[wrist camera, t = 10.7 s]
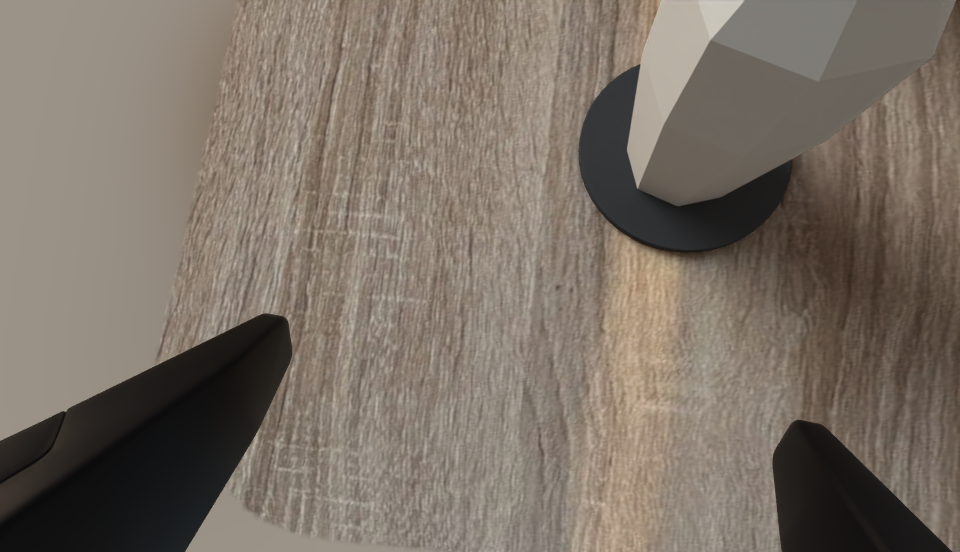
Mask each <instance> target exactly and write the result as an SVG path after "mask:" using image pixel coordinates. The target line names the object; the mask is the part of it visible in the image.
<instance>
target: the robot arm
mask: <svg viewBox="0 0 960 552" xmlns="http://www.w3.org/2000/svg"><path fill="white" fill-rule="evenodd" d="M291 357H292V345H291V338H290V331H289V324H288V321H287V319H286V318H285V317H283V316H278V315H273V314H268V313H265V314H261V315H259V316H257V317H255V318H253V319H251V320H249V321H247V322H245V323H243V324H241V325H239V326H236V327H234V328H232V329H230V330H228V331H226V332H224V333H222V334H220V335H218V336H216V337H214V338H212V339H210V340H208V341H206V342H204V343H202V344H200V345H198V346H195V347H193V348H191V349H189V350H187V351H185V352H183V353H181V354H179V355H177V356H175V357H173V358H171V359H169V360H167V361H165V362H163V363H161V364H159V365H157V366H155V367H152V368H151V369H148V370H146V371H144V372H142V373H140V374H138V375H136V376H134V377H132V378H130V379H128V380H126V381H124V382H122V383H120V384H118V385H116V386H114V387H112V388H110V389H107V390H105V391H103V392H101V393H99V394H97V395H95V396H93V397H91V398H89V399H87V400H85V401H83V402H81V403H79V404H77V405H75V406H72V407H70V408H69V409H68V410H67V412H64V411H63V412H60V413H58V414H56V415H54V416H52V417H50V418H48V419H46V420H44V421H42V422H39V423H38V424H35V425H33V426H31V427H29V428H27V429H25V430H22V431H20V432H18V433H16V434H14V435H12V436H10V437H8V438H5V439H3V440H1V441H0V552H185V551H186V549H187V547H188V546H189V544H190V543H191V541H192V539H193V538H194V536H195V534H196V533H197V531H198V529H199V528H200V526H201V524H202V523H203V521H204V519H205V518H206V516H207V515H208V513H209V511H210V509H211V508H212V506H213V505H214V503H215V501H216V500H217V498H218V496H219V495H220V493H221V492H222V490H223V488H224V487H225V485H226V483H227V482H228V480H229V478H230V477H231V475H232V473H233V472H234V470H235V468H236V467H237V465H238V464H239V462H240V460H241V459H242V457H243V455H244V454H245V452H246V450H247V449H248V447H249V445H250V444H251V442H252V440H253V439H254V437H255V435H256V433H257V431H258V429H259V427H260V425H261V423H262V421H263V419H264V417H265V415H266V413H267V411H268V409H269V406H270V404H271V402H272V400H273V398H274V396H275V393H276V391H277V389H278V387H279V385H280V383H281V381H282V378H283V376H284V374H285V372H286V370H287V368H288V366H289V363H290V361H291ZM772 463H773V474H774V484H775V493H776V503H777V513H778V523H779V533H780V541H781V549H782V552H952V551H951V550H950V549H949V548H948V547H947V546H946V545H945V544H944V543H943V542H942V541H941V540H940V539H939V538H938V537H937V536H936V535H935V534H934V533H933V532H932V531H931V530H930V529H928V528H927V527H926V526H925V525H924V524H923V523H922V522H921V521H920V520H919V519H918V518H917V517H916V516H915V515H914V514H913V513H912V512H911V511H910V510H909V509H908V508H907V507H906V506H905V505H904V504H903V503H902V502H901V501H900V500H899V499H898V498H897V497H896V496H895V495H894V494H893V493H892V492H891V491H890V490H889V489H888V488H887V487H886V486H885V485H884V484H883V483H882V482H881V481H880V480H879V479H878V478H877V477H876V476H875V475H874V474H873V473H872V472H871V471H869V470H868V469H867V468H866V467H865V466H864V465H863V464H862V463H861V462H860V461H859V460H858V459H857V458H856V457H855V456H854V455H853V454H852V453H851V452H850V451H849V450H848V449H847V448H846V447H845V446H844V445H843V444H842V443H841V442H840V441H839V440H838V439H837V438H836V437H835V436H834V435H833V434H832V433H831V432H830V431H829V430H828V429H827V428H825V427H824V426H823V425H821V424H818V423H813V422H808V421H803V420H796V421H794V422H792V423H791V425H790V426H789V428H788V429H787V431H786V433H785V434H784V436H783V438H782V439H781V441H780V442H779V444H778V446H777V447H776V449H775V451H774V454H773V462H772Z"/></svg>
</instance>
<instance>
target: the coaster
mask: <svg viewBox="0 0 960 552" xmlns="http://www.w3.org/2000/svg"><path fill="white" fill-rule="evenodd" d="M640 65H641V64H640ZM640 65H637V66H635V67H633V68H631V69H629V70H627V71H626V72H624V73H622V74H621V75H619V76H618V77H617V78H615V79H614V80H613V81H612V82H610V83H609V84H608V85H607V86H606V87H605V88H604V89H603V90H602V91H601V93H600V94H599V95H598V97H597V98H596V99H595V101H594V102H593V104H592V106H591V107H590V109H589V111H588V113H587V116H586V118H585V121H584V123H583V127H582V131H581V136H580V142H579V165H580V170H581V175H582V178H583V181H584V184H585V187H586V189H587V191H588V193H589V195H590V197H591V199H592V201H593V202H594V204H595V205H596V207H597V208H598V210H599V211H600V212H601V213H602V214H603V215H604V216H605V218H606V219H607V220H608V221H609V222H610V223H612V224H613V225H614V226H615V227H616V228H617V229H619V230H620V231H622V232H623V233H625V234H626V235H628V236H629V237H631V238H633V239H635V240H637V241H639V242H641V243H643V244H646V245H649V246H651V247H654V248H658V249H662V250H667V251H674V252H702V251H708V250H713V249H717V248H720V247H724V246H727V245H729V244H731V243H733V242H736V241H738V240H740V239H741V238H743V237H745V236H746V235H748V234H750V233H751V232H753V231H754V230H755V229H756V228H758V227H759V226H760V225H761V224H763V223H764V222H765V221H766V219H767V218H768V217H769V216H770V215H771V214H772V213H773V212H774V210H775V209H776V207H777V206H778V204H779V203H780V201H781V199H782V197H783V195H784V193H785V191H786V188H787V185H788V182H789V179H790V174H791V168H792V159H791V160H789V161H787V162H785V163H784V164H782V165H780V166H778V167H776V168H774V169H772V170H771V171H769V172H767V173H765V174H763V175H761V176H759V177H758V178H756V179H754V180H752V181H750V182H748V183H746V184H744V185H743V186H741V187H739V188H737V189H735V190H733V191H731V192H730V193H728V194H726V195H724V196H722V197H720V198H715V199H711V200H706V201H701V202H696V203H692V204H687V205H682V206H675V205H673V204H671V203H669V202H666V201H664V200H662V199H659V198H657V197H655V196H653V195H650V194H648V193H646V192H643V191H641V190H639V189H637V185H636V182H635V178H634V174H633V171H632V167H631V163H630V160H629V156H628V152H627V146H628V140H629V134H630V128H631V121H632V115H633V109H634V103H635V96H636V90H637V84H638V78H639V71H640Z"/></svg>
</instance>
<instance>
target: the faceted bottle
mask: <svg viewBox="0 0 960 552" xmlns="http://www.w3.org/2000/svg"><path fill="white" fill-rule="evenodd" d="M955 2H956V0H662V1H661V3H660V6H659V9H658V12H657V14H656V17H655V20H654V22H653V25H652V28H651V31H650V33H649V36H648V39H647V41H646V44H645V47H644V50H643V53H642V59H641V65H640V71H639V78H638V84H637V90H636V96H635V103H634V109H633V115H632V121H631V128H630V134H629V140H628V146H627V152H628V156H629V160H630V163H631V167H632V171H633V174H634V178H635V182H636V185H637V189H639V190H641V191H643V192H646V193H648V194H650V195H653V196H655V197H657V198H659V199H662V200H664V201H666V202H669V203H671V204H673V205H675V206H682V205H687V204H692V203H696V202H701V201H706V200H711V199H715V198H720V197H722V196H724V195H726V194H728V193H730V192H731V191H733V190H735V189H737V188H739V187H741V186H743V185H744V184H746V183H748V182H750V181H752V180H754V179H756V178H758V177H759V176H761V175H763V174H765V173H767V172H769V171H771V170H772V169H774V168H776V167H778V166H780V165H782V164H784V163H785V162H787V161H789V160H791V159H793V158H795V157H797V156H798V155H800V154H802V153H804V152H806V151H808V150H810V149H812V148H813V147H815V146H817V145H819V144H821V143H823V142H825V141H826V140H828V139H829V138H831V137H832V136H833V135H835V134H836V133H837V132H838V131H840V130H841V129H842V128H843V127H845V126H846V125H847V124H848V123H850V122H851V121H852V120H854V119H855V118H856V117H857V116H859V115H860V114H861V113H862V112H864V111H865V110H866V109H867V108H869V107H870V106H871V105H873V104H874V103H875V102H876V101H878V100H879V99H880V98H881V97H883V96H884V95H885V94H886V93H888V92H889V91H890V90H892V89H893V88H894V87H895V86H897V85H898V84H899V83H900V82H902V81H903V80H904V79H905V78H907V77H908V76H909V75H911V74H912V73H913V72H914V71H916V70H917V69H918V68H919V67H921V66H922V65H923V64H924V63H926V62H927V61H928V60H930V59H931V58H932V57H933V56H934V53H935V51H936V48H937V46H938V43H939V41H940V38H941V36H942V34H943V31H944V29H945V26H946V24H947V21H948V19H949V16H950V14H951V12H952V9H953V7H954V4H955Z"/></svg>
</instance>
